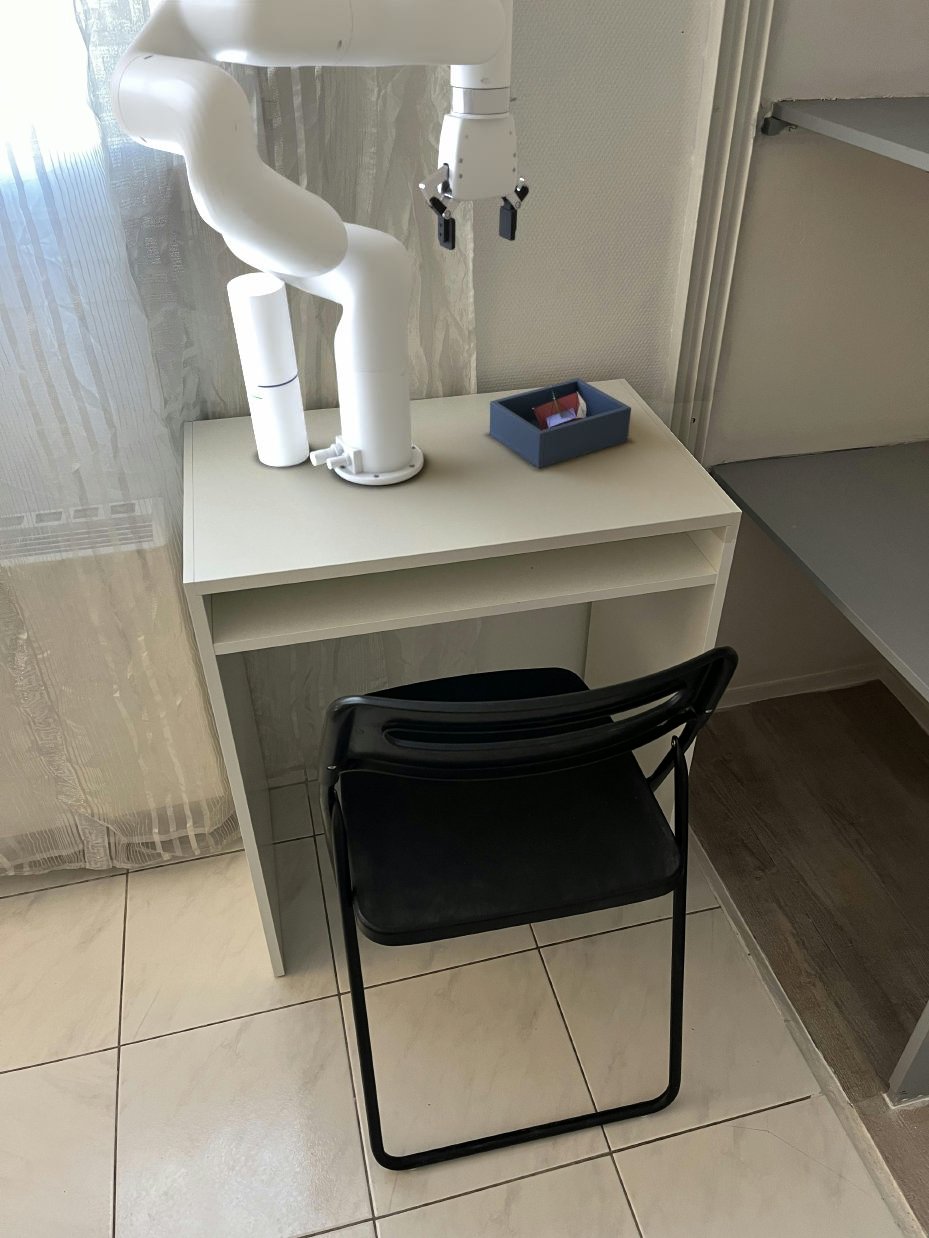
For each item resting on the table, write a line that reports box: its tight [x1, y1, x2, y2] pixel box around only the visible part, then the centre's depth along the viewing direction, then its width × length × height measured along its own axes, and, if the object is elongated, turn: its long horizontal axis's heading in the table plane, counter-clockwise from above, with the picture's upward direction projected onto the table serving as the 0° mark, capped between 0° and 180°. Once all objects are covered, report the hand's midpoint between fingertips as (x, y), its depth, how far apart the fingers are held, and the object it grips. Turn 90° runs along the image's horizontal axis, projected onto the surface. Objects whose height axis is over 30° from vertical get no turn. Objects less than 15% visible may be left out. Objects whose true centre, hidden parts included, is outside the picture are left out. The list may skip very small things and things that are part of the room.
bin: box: [489, 378, 632, 469], centre depth 137 cm, size 16×13×5 cm
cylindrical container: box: [226, 272, 311, 467], centre depth 126 cm, size 7×7×25 cm
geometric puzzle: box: [533, 385, 586, 431], centre depth 136 cm, size 7×7×8 cm
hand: (477, 243), depth 129 cm, fingers open, 9 cm apart
